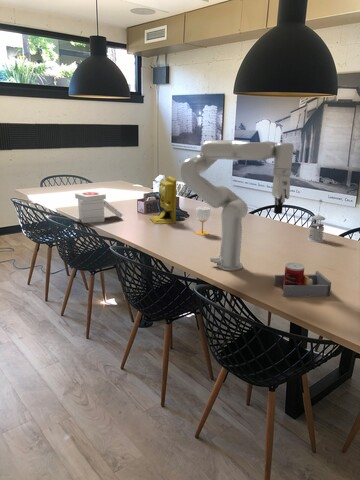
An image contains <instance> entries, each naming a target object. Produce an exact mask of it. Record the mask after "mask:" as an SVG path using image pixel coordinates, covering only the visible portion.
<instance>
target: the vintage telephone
mask: <svg viewBox="0 0 360 480" xmlns="http://www.w3.org/2000/svg"><path fill="white" fill-rule="evenodd" d="M158 186H159V187H158V193H159V201H158V202H159V204H160V207H159V208H158V210H157V211H156V213H158V211H159V210H160V209H161V208H162V209H163V210H162V212H161V213H159V215H153V216H151V217H150V218H149V219H150V220H151V221H152V222H153V223H154V224H155V225H165V224H167V225H168V224H173V225H175V224H176V216H177V213H176V212H177V211H176V210H177V208H176V207H177V179H176V178H173V176H170V175H169V176H167V177H166V181H165V180H161V181H160V183H159V184H158Z"/></svg>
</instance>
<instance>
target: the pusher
mask: <svg viewBox="0 0 360 480" xmlns="http://www.w3.org/2000/svg"><path fill="white" fill-rule="evenodd" d="M306 275H307V274H305V273H304V276H303V283H302V285H312V284H313V281H312V279H310V278H308V277H307V276H306Z"/></svg>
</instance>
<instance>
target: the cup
mask: <svg viewBox="0 0 360 480" xmlns="http://www.w3.org/2000/svg"><path fill="white" fill-rule="evenodd" d="M195 215H196V218H197V220H198V221H199V222H200V223H201V230H197V231H195V232H194V233H195V234H196V235H198V236H208V235H210V232H209V231H205V230H204V223H206V222H207V221H208V220H209V218H210V216H211V208H210V207H208V206H197V207H196V211H195Z"/></svg>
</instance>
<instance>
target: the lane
mask: <svg viewBox="0 0 360 480" xmlns="http://www.w3.org/2000/svg"><path fill="white" fill-rule="evenodd" d="M284 275H285V274H274V280H273V285H274V286H283V284H284ZM305 275H306V276H307V277H308V278H310V279H312V281H313V284H312V285H284V287H282V297H285V298H286V297H289V298H290V297H293V298H294V297H329V296H330V295H331V289H332V288H331V287H332V281H330V280H329V279H328V278H327V277H326V276H325V275H324V274H322V273H321V272H320V271H318V270H316V271H315V274H311V273H310V274H309V273H308V274H305Z"/></svg>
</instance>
